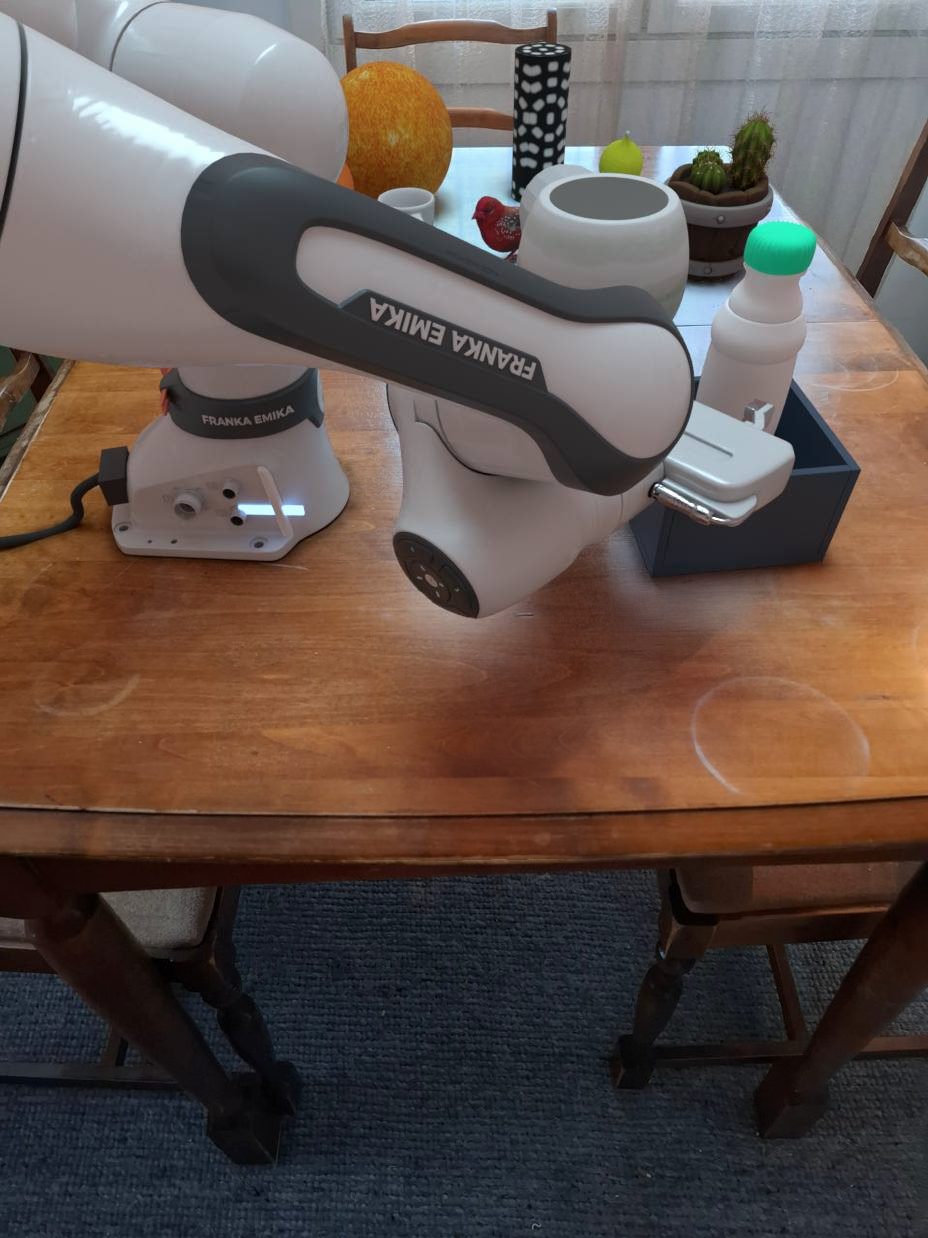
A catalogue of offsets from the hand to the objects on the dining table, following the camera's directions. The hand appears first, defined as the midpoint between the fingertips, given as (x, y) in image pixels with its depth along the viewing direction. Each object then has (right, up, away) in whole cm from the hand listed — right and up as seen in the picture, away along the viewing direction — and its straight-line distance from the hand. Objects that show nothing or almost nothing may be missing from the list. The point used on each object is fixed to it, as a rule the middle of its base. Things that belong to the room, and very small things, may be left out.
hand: (710, 387), depth 62 cm
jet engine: (-6, +19, +39) cm, 44 cm away
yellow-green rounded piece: (+7, +54, +72) cm, 90 cm away
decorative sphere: (-31, +48, +67) cm, 87 cm away
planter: (-6, +4, +26) cm, 27 cm away
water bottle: (+4, -8, +13) cm, 16 cm away
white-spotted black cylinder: (-7, +52, +70) cm, 88 cm away
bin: (+4, -8, +14) cm, 16 cm away
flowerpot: (+14, +31, +50) cm, 61 cm away
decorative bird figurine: (-11, +34, +53) cm, 64 cm away
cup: (-26, +34, +54) cm, 69 cm away
